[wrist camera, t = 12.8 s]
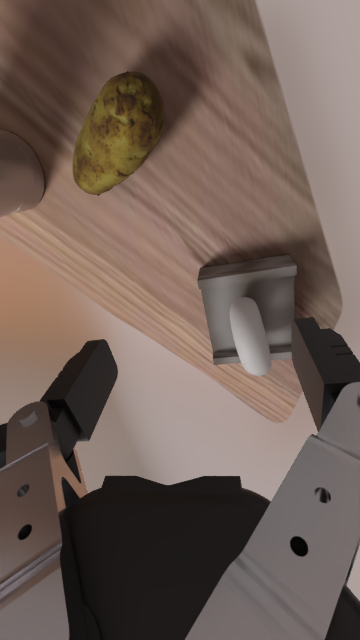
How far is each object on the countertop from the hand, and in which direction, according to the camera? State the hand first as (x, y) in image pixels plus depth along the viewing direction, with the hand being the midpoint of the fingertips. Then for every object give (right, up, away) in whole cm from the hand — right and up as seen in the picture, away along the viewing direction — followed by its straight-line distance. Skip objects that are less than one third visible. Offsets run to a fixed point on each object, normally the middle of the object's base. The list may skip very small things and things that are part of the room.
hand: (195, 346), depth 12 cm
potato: (-7, +22, +20) cm, 31 cm away
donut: (+9, +2, +26) cm, 28 cm away
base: (+9, +3, +29) cm, 30 cm away
